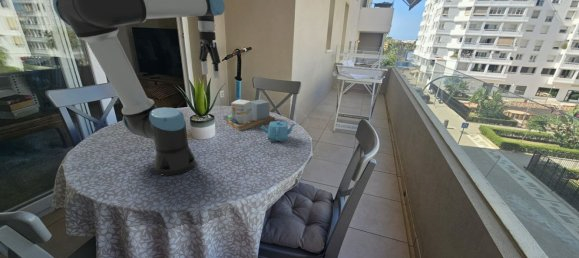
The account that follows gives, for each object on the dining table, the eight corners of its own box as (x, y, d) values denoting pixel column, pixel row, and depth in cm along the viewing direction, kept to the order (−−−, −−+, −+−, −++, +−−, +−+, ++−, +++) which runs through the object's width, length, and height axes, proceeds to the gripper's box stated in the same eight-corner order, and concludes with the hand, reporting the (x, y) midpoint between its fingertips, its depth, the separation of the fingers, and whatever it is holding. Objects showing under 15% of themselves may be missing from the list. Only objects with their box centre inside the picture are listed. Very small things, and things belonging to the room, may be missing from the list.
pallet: (274, 123, 148) (274, 117, 147) (239, 132, 132) (239, 126, 131) (261, 117, 158) (261, 112, 156) (227, 125, 142) (226, 119, 141)
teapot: (259, 144, 119) (259, 125, 116) (262, 133, 132) (262, 116, 129) (295, 145, 119) (296, 126, 115) (295, 134, 132) (296, 117, 129)
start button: (236, 120, 148) (235, 115, 147) (230, 121, 146) (229, 117, 145) (232, 118, 151) (232, 114, 150) (227, 119, 148) (226, 115, 147)
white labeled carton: (231, 122, 137) (230, 102, 133) (239, 117, 145) (238, 98, 140) (245, 124, 135) (244, 104, 130) (252, 119, 142) (251, 100, 138)
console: (239, 121, 148) (239, 117, 147) (229, 124, 144) (229, 119, 143) (233, 118, 153) (233, 114, 152) (223, 121, 149) (223, 116, 148)
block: (269, 120, 148) (269, 102, 144) (257, 124, 143) (256, 104, 138) (261, 117, 154) (261, 99, 150) (249, 120, 148) (249, 101, 144)
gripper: (226, 31, 109) (228, 78, 116) (204, 31, 127) (207, 72, 134) (210, 30, 104) (213, 79, 112) (190, 30, 122) (194, 73, 130)
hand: (210, 76), depth 123 cm, fingers open, 13 cm apart
